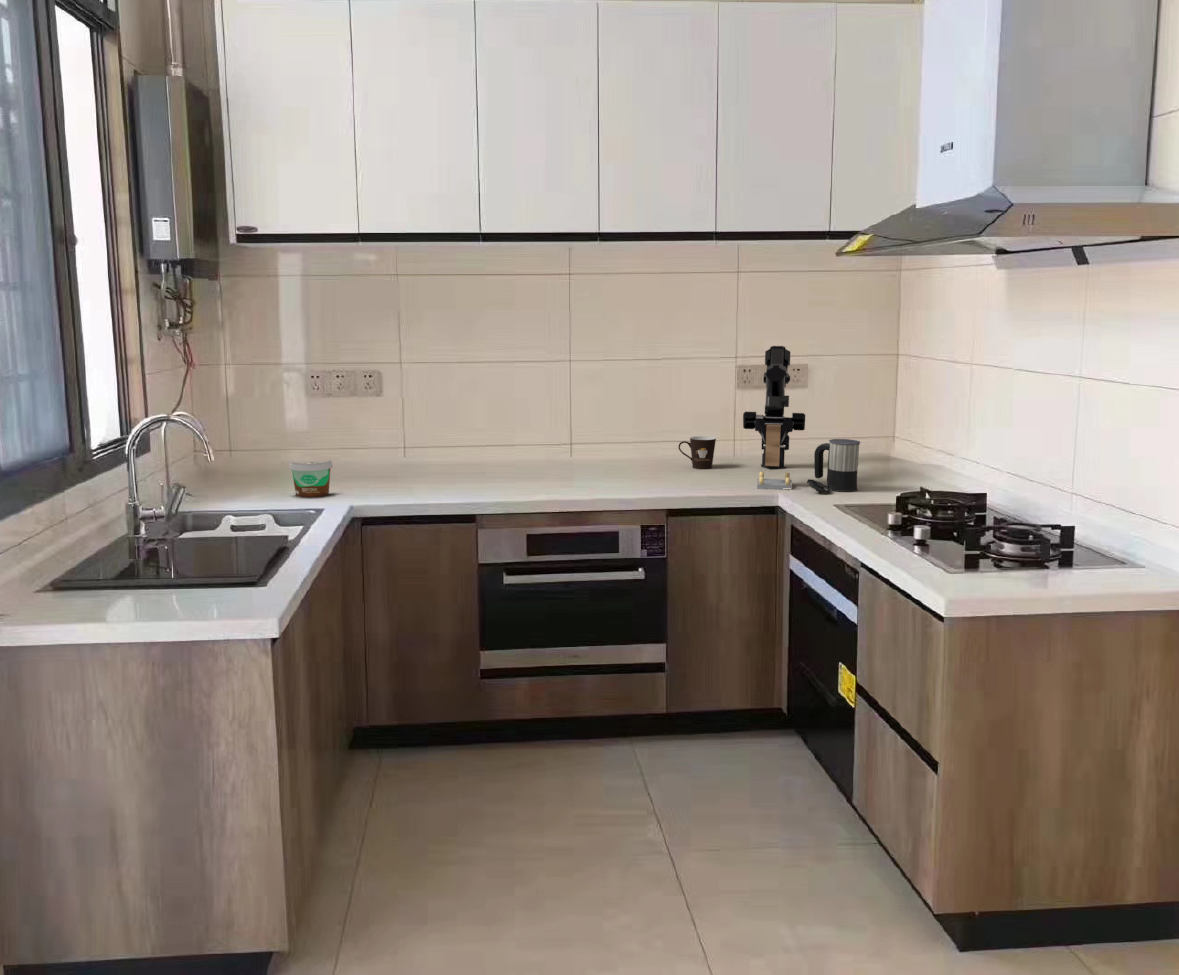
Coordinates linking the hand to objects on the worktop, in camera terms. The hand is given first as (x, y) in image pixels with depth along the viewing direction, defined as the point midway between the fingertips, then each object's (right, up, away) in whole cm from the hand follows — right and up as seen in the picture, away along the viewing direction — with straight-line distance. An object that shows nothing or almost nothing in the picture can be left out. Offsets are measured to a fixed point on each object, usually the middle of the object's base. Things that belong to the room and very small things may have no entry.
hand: (772, 443), depth 340 cm
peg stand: (+1, -13, +4) cm, 13 cm away
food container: (-135, -16, -15) cm, 137 cm away
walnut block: (0, -7, +3) cm, 7 cm away
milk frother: (+17, -15, -3) cm, 23 cm away
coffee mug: (-19, -7, +36) cm, 42 cm away
